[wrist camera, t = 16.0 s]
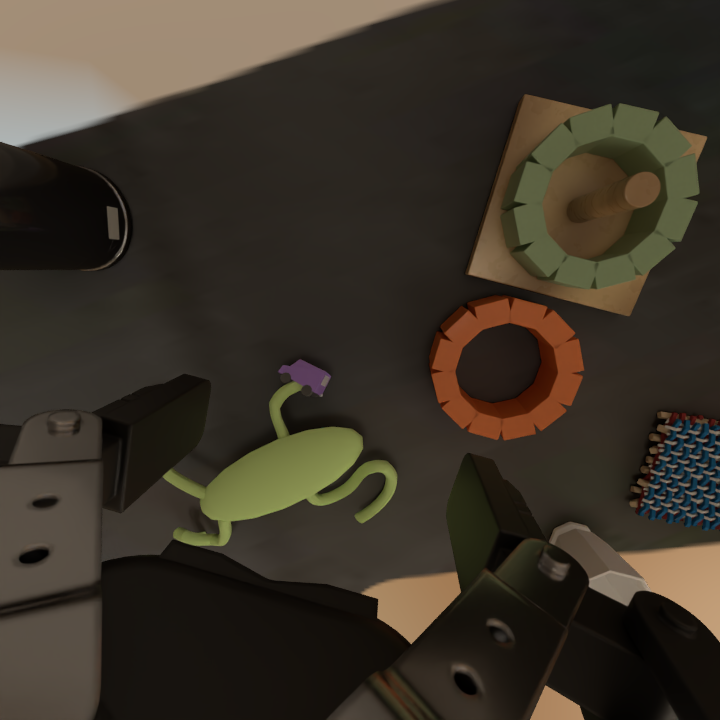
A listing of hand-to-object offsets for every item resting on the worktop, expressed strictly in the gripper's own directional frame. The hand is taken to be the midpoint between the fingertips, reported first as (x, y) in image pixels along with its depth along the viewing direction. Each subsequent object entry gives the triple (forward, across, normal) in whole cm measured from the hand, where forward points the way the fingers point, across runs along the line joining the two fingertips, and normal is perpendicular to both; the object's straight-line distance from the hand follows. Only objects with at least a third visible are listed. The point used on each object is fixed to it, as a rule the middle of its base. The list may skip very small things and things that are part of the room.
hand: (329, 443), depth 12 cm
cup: (+25, -26, +18) cm, 40 cm away
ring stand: (+25, -14, -14) cm, 32 cm away
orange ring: (+25, -12, 0) cm, 28 cm away
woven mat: (+25, -33, +5) cm, 42 cm away
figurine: (+26, +8, +17) cm, 32 cm away
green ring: (+24, -14, -14) cm, 31 cm away
